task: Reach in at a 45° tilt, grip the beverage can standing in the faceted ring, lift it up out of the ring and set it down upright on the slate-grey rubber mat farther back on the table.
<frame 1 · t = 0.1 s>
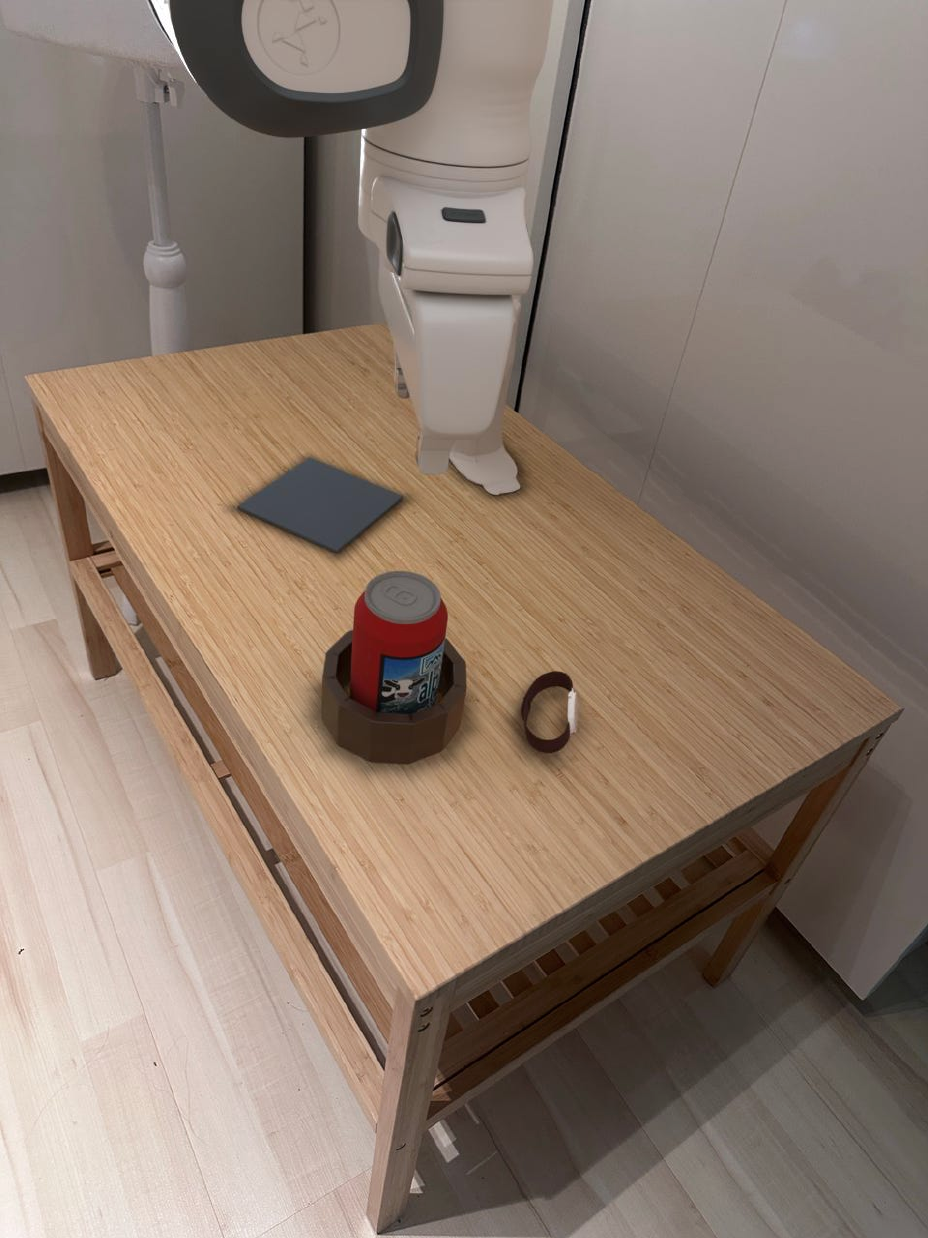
hand: (418, 428, 56), 23 cm above the table, tool pointing down, fingers open, 8 cm apart
beverage can: (391, 711, 69), resting in faceted ring
candle: (481, 462, 99), on the table
watch: (546, 724, 70), on the table
faceted ring: (391, 709, 68), on the table
mat: (322, 503, 88), on the table
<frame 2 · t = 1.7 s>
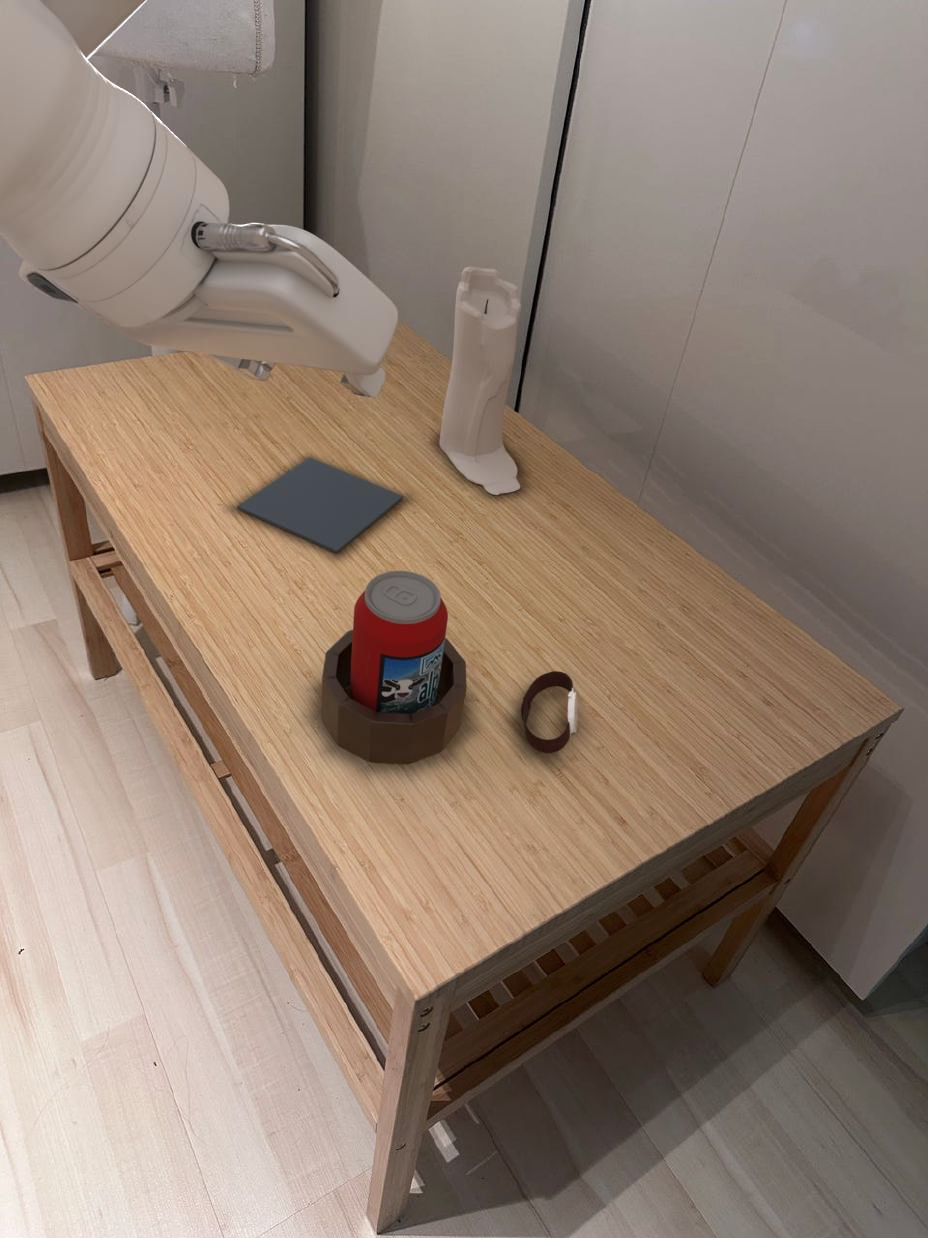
hand: (316, 377, 53), 26 cm above the table, tool tilted 45°, fingers open, 8 cm apart
nothing on the table moved.
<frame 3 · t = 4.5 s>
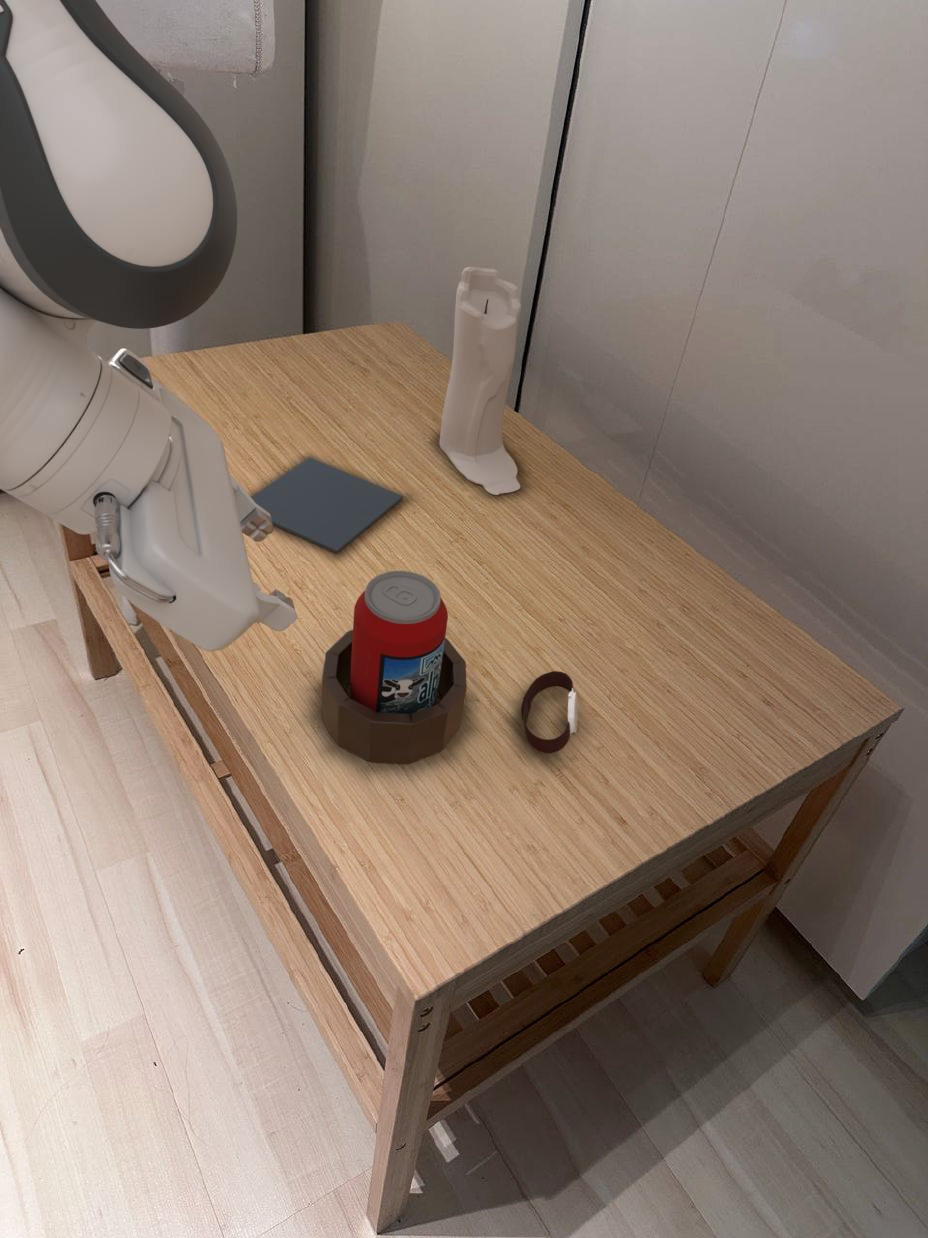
hand: (276, 571, 58), 14 cm above the table, tool tilted 45°, fingers open, 8 cm apart
nothing on the table moved.
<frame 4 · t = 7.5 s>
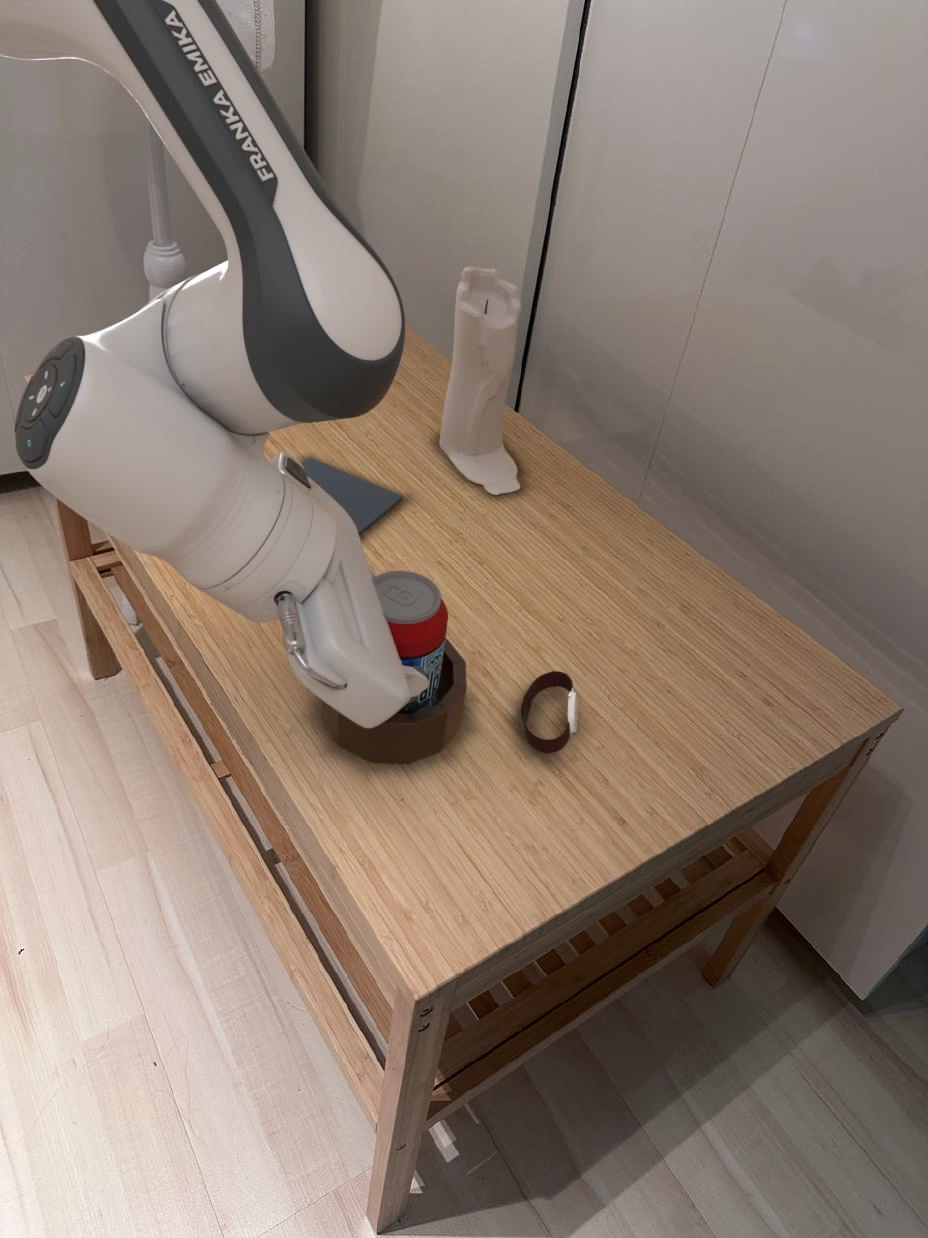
hand: (406, 645, 64), 7 cm above the table, tool tilted 45°, fingers closed on beverage can, 7 cm apart
beverage can: (392, 711, 69), resting in faceted ring, touching gripper
everything else where it was.
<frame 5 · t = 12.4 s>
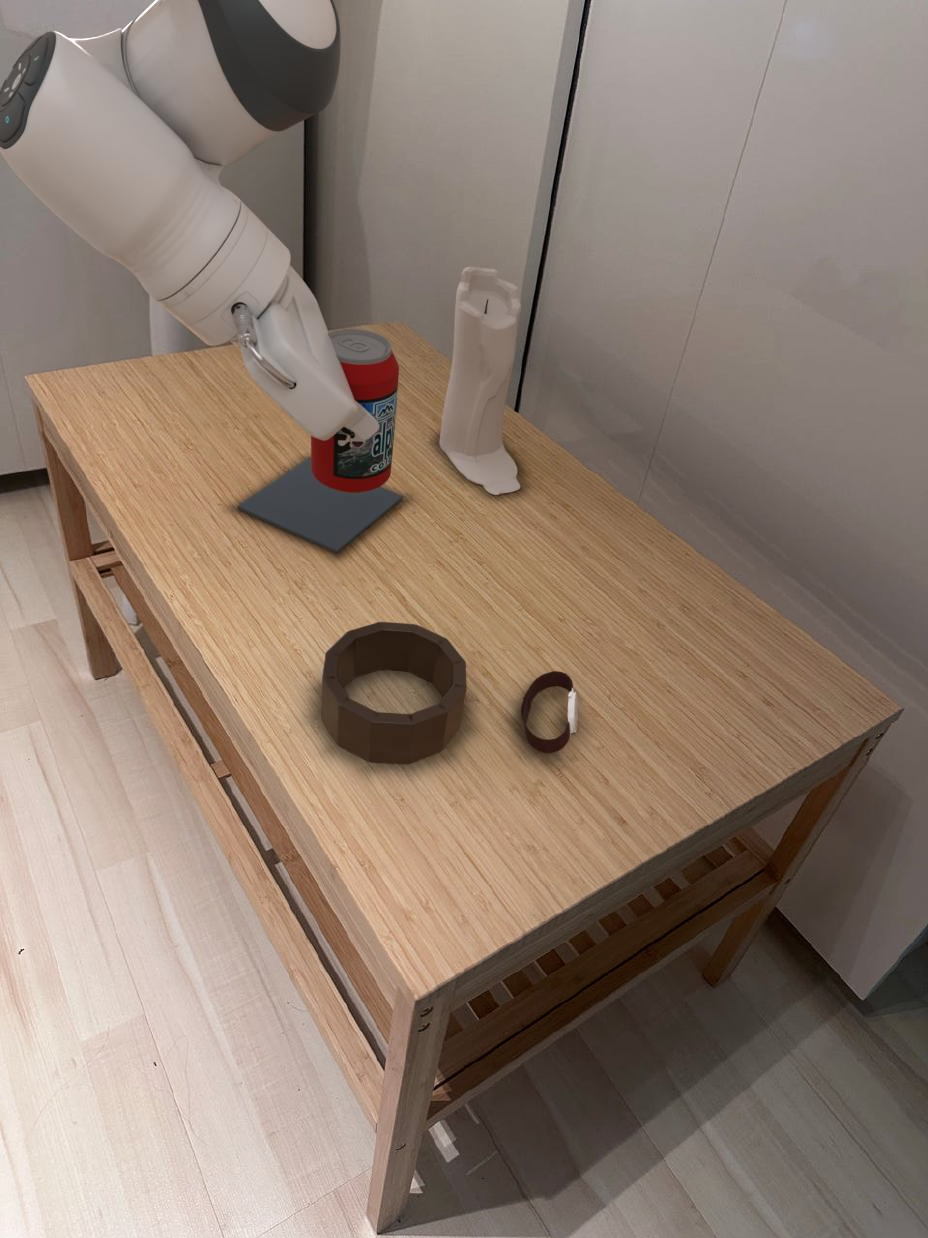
hand: (361, 403, 69), 17 cm above the table, tool tilted 45°, fingers closed on beverage can, 7 cm apart
beverage can: (350, 479, 74), point 10 cm above the table, touching gripper
everything else where it was.
when the fingers open (7 cm above the table, at t = 17.3 s): beverage can stays where it is, resting on mat.
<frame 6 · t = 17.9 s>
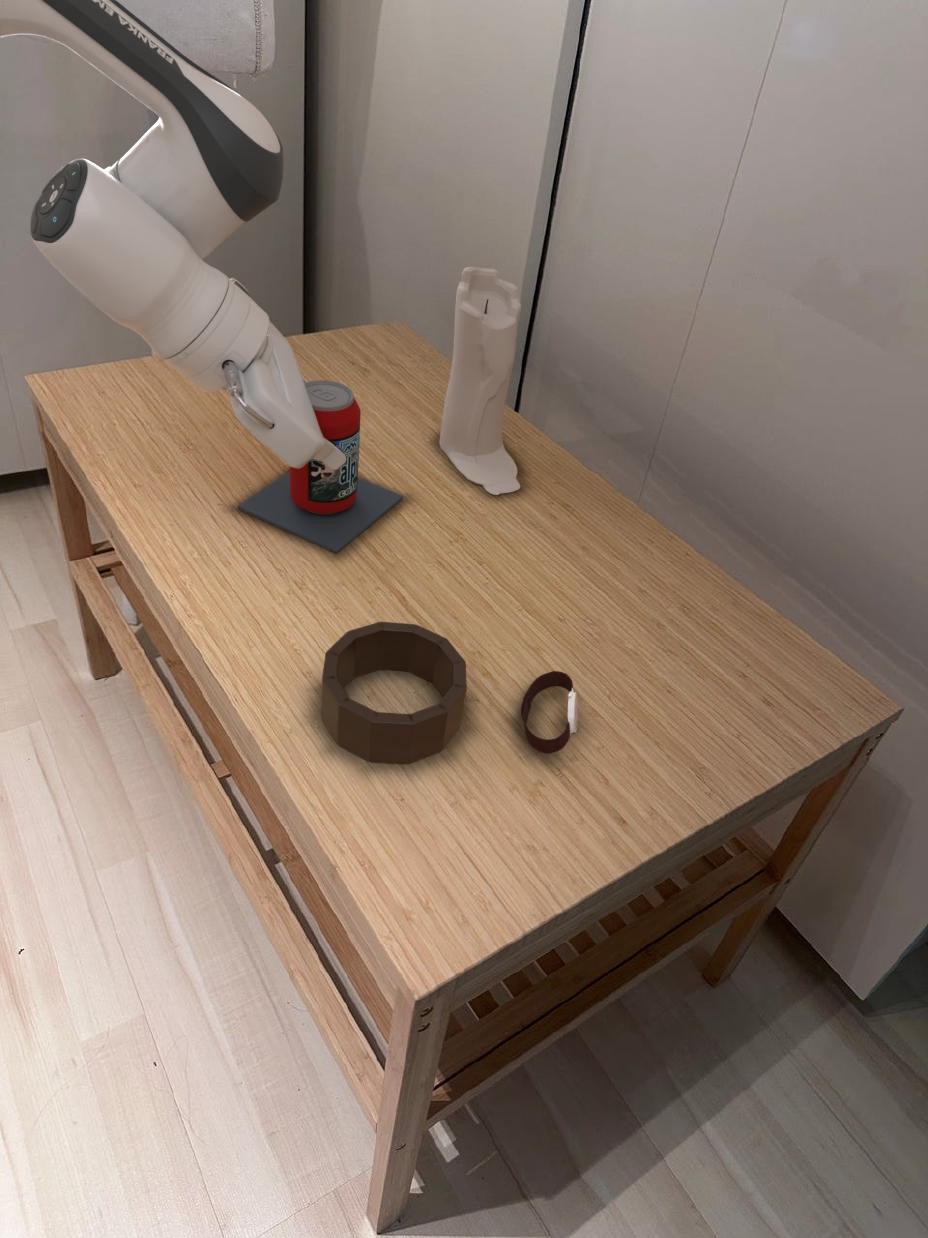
hand: (330, 436, 83), 8 cm above the table, tool tilted 45°, fingers open, 8 cm apart
beverage can: (323, 502, 88), resting on mat
everything else where it was.
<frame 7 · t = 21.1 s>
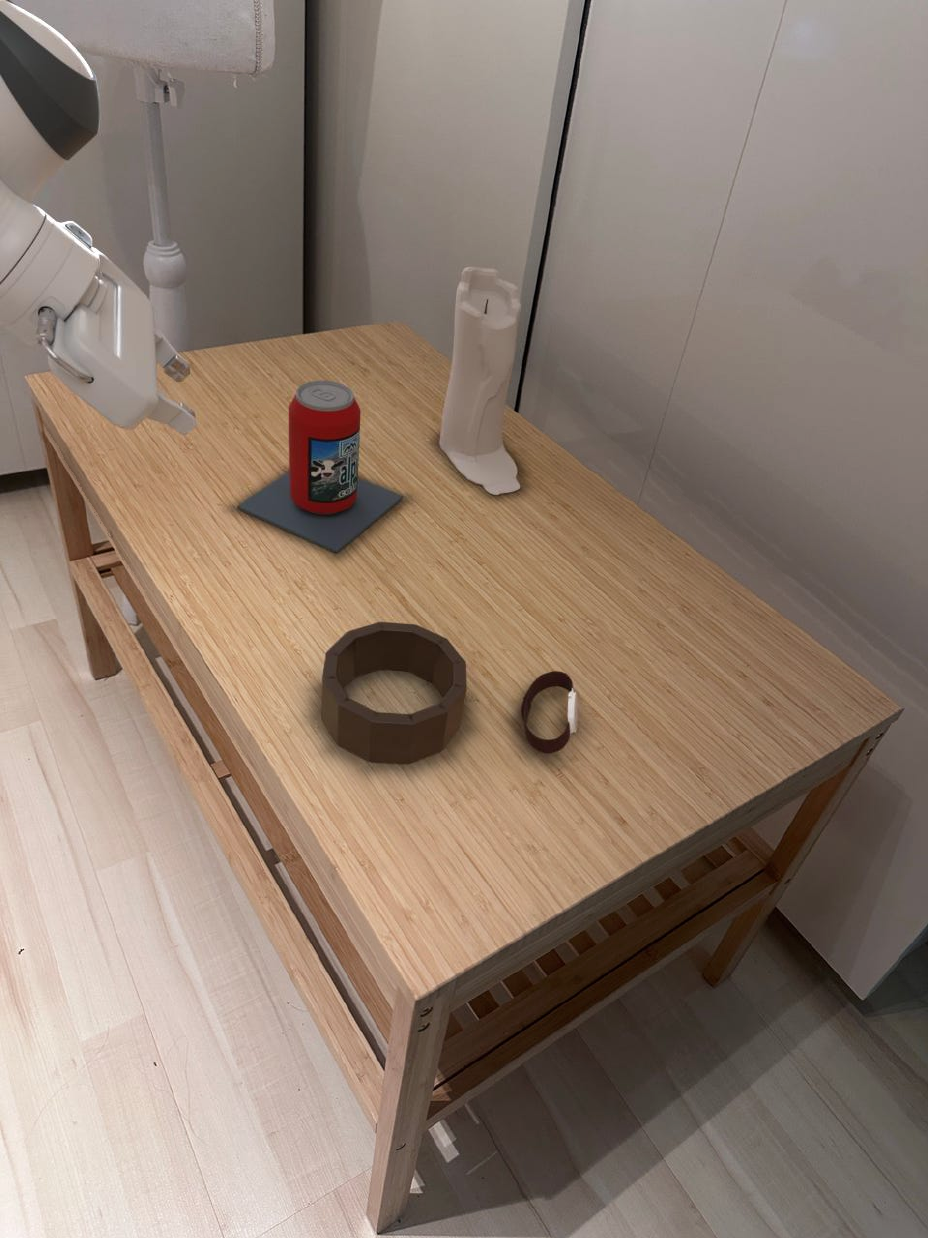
hand: (188, 398, 76), 13 cm above the table, tool tilted 45°, fingers open, 8 cm apart
nothing on the table moved.
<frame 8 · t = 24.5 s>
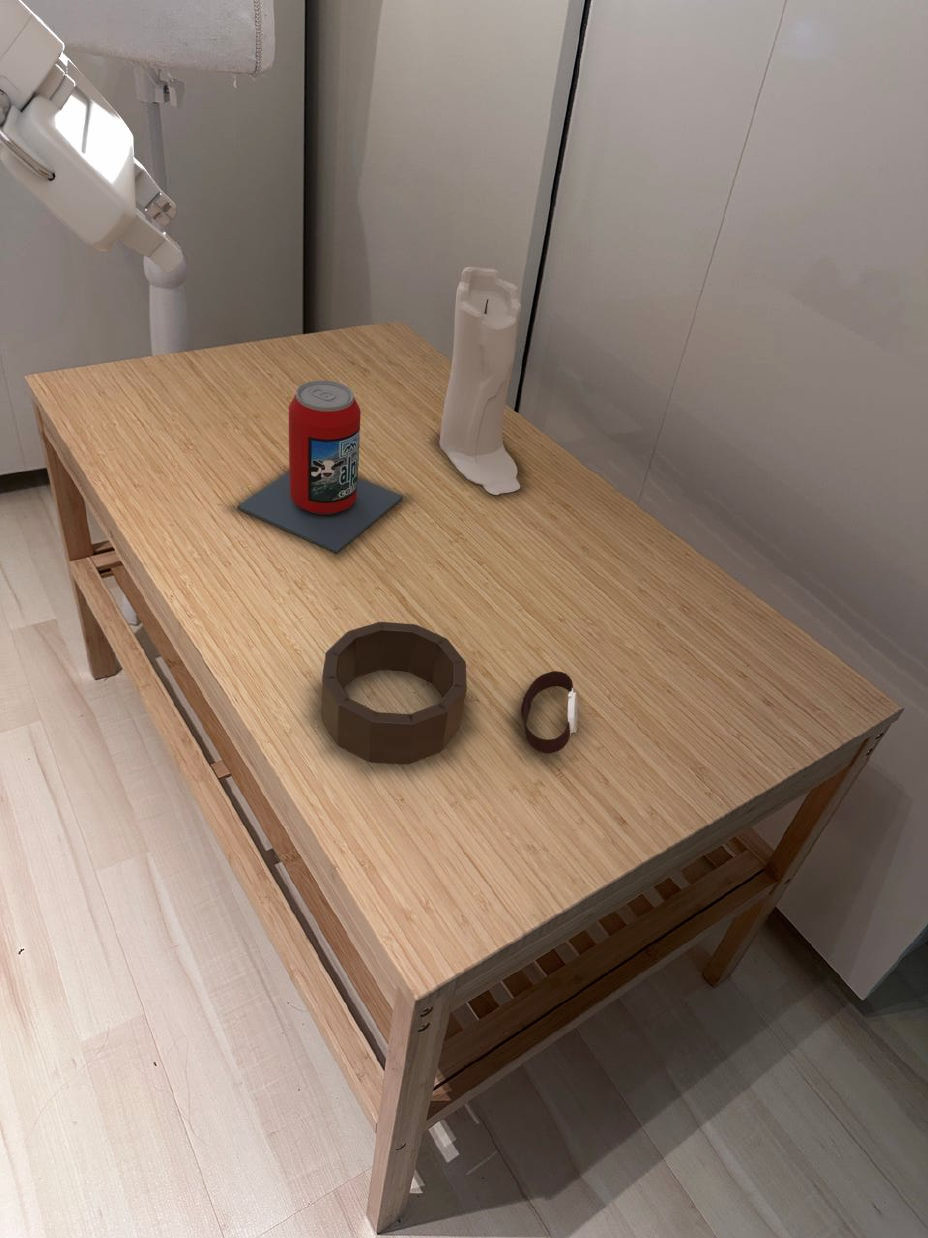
hand: (174, 239, 64), 27 cm above the table, tool tilted 45°, fingers open, 8 cm apart
nothing on the table moved.
at the end: beverage can inside the target area on the mat (0.1 cm from its centre), point 0.2 cm above the mat's base; beverage can tilted 0°; beverage can touching mat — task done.
